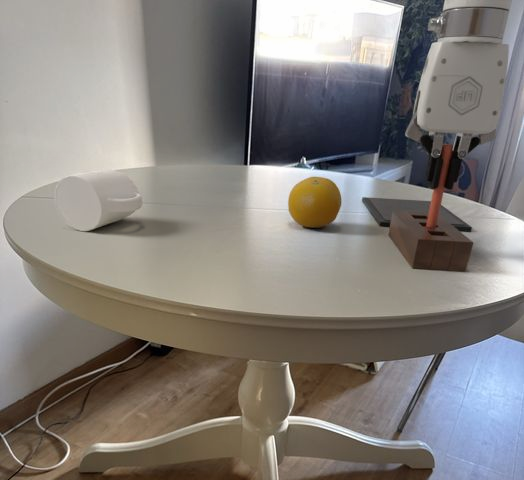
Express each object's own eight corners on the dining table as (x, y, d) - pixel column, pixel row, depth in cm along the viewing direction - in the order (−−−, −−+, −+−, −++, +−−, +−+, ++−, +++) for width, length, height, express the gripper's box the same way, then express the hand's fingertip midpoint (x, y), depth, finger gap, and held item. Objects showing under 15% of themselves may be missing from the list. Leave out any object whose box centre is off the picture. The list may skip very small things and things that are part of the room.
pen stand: (431, 237, 79) (437, 213, 77) (465, 271, 64) (473, 242, 62) (388, 235, 79) (392, 210, 77) (412, 268, 64) (418, 239, 62)
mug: (54, 227, 73) (45, 172, 69) (90, 214, 81) (84, 164, 77) (124, 237, 70) (118, 180, 66) (154, 223, 78) (151, 171, 74)
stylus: (433, 231, 71) (451, 144, 65) (435, 234, 70) (454, 145, 64) (423, 231, 71) (441, 143, 65) (426, 234, 70) (444, 144, 64)
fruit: (287, 231, 78) (291, 180, 74) (285, 219, 85) (289, 172, 81) (341, 234, 78) (348, 183, 74) (335, 222, 85) (340, 174, 81)
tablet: (436, 205, 103) (436, 201, 103) (471, 231, 84) (472, 226, 83) (361, 200, 103) (362, 196, 103) (379, 226, 84) (380, 221, 83)
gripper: (414, 24, 55) (388, 190, 64) (550, 29, 55) (505, 195, 64) (400, 31, 62) (378, 180, 71) (522, 36, 61) (485, 185, 70)
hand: (439, 186), depth 67 cm, fingers closed on stylus, 1 cm apart
